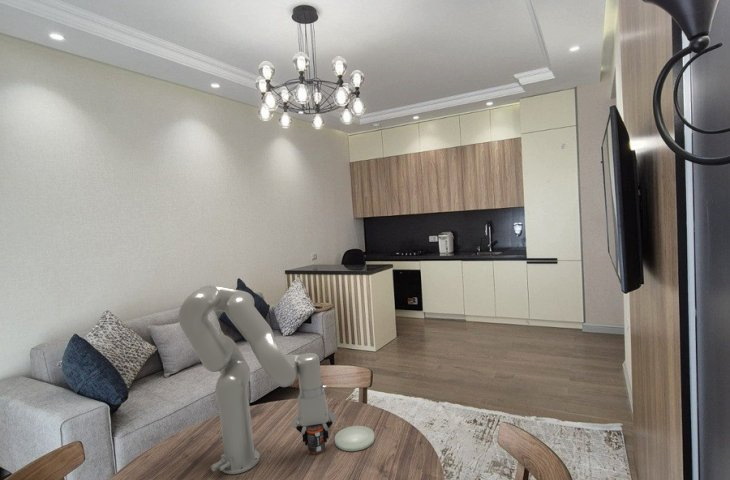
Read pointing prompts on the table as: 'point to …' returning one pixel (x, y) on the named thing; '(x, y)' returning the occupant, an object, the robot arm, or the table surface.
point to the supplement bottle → (315, 438)
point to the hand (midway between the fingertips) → (316, 441)
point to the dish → (354, 438)
